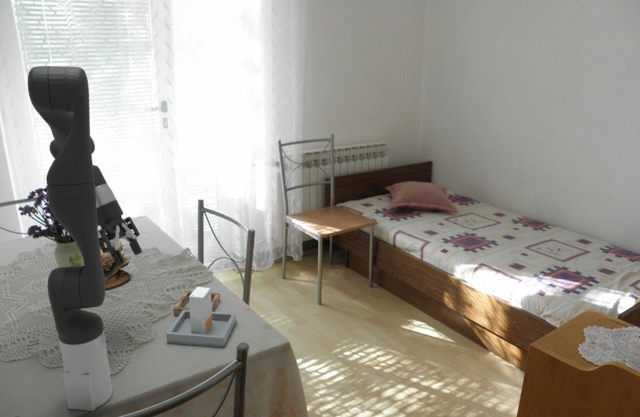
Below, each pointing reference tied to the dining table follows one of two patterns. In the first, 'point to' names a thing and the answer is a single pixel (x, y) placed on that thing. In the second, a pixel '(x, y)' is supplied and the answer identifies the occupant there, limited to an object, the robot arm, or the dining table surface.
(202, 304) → the skincare box
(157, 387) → the dining table surface
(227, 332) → the tray
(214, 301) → the socket block
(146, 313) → the dining table surface
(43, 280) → the dining table surface
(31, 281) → the dining table surface
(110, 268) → the beige lumpy sculpture
